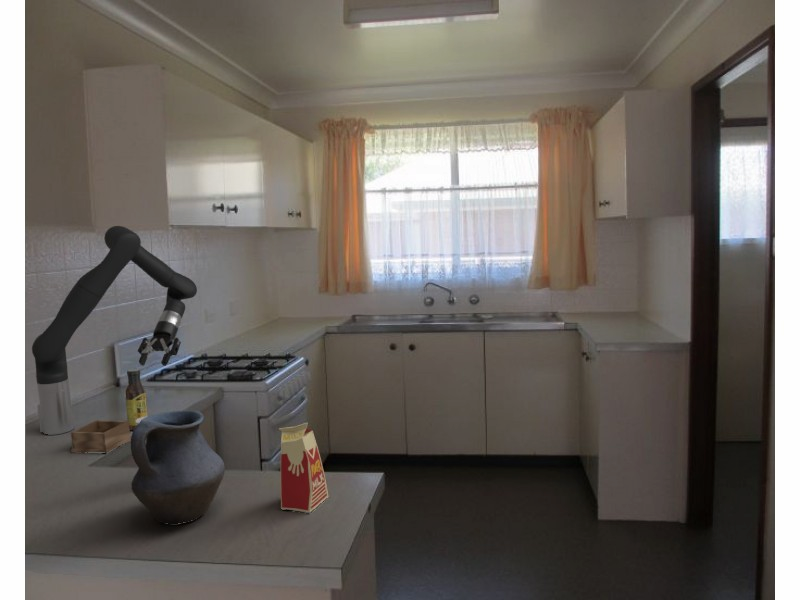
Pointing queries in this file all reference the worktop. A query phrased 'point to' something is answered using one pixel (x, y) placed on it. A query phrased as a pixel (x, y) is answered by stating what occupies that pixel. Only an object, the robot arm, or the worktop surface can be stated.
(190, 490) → the pitcher
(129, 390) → the sauce bottle
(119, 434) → the open wooden box
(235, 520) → the worktop surface
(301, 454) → the milk carton
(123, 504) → the worktop surface
